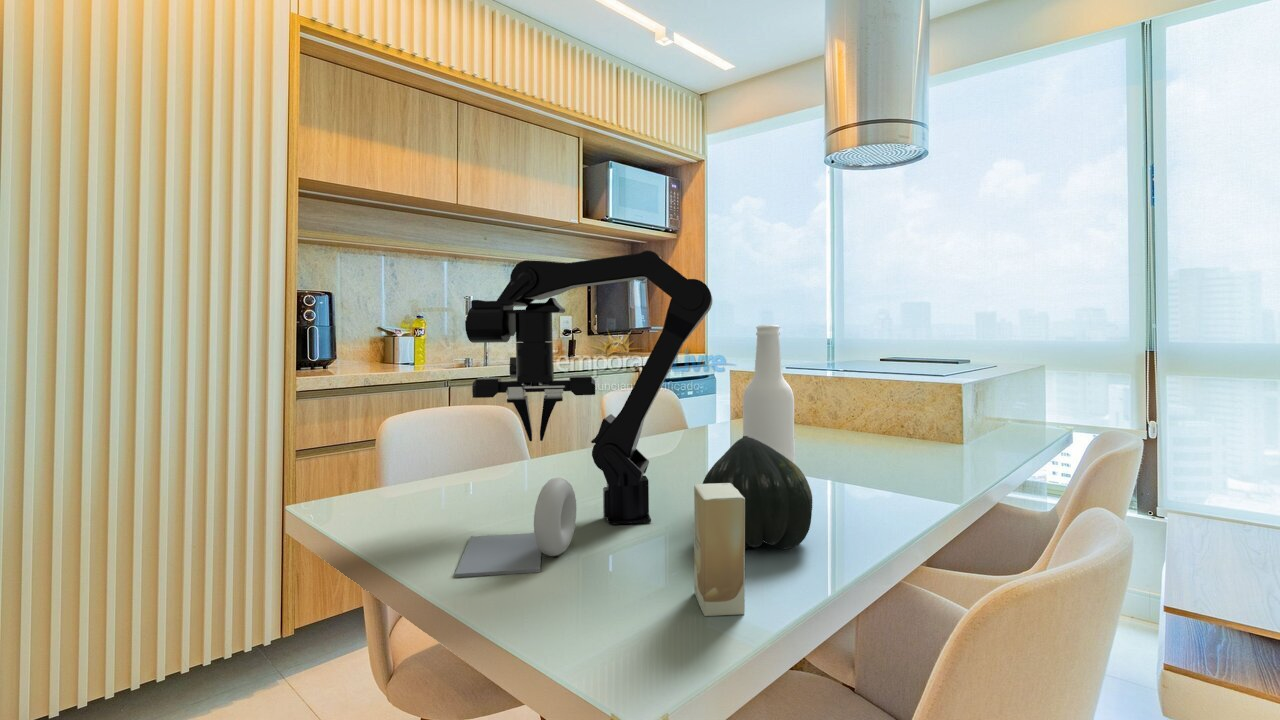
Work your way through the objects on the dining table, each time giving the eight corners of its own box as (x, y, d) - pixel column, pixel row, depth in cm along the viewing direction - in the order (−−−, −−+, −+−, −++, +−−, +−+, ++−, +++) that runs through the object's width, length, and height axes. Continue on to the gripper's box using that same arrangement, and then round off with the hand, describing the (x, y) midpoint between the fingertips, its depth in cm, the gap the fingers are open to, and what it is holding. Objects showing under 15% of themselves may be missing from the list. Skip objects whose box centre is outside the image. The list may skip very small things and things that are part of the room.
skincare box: (693, 592, 68) (692, 482, 68) (731, 590, 69) (731, 481, 68) (704, 618, 62) (703, 497, 61) (746, 616, 62) (745, 496, 62)
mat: (542, 535, 88) (542, 532, 88) (540, 572, 75) (539, 568, 75) (471, 539, 87) (470, 536, 87) (454, 577, 73) (454, 574, 73)
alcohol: (794, 490, 112) (793, 325, 111) (794, 503, 103) (794, 324, 102) (744, 488, 114) (743, 326, 113) (741, 501, 105) (740, 325, 104)
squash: (810, 529, 73) (808, 422, 82) (686, 524, 77) (697, 423, 86) (815, 574, 83) (813, 475, 92) (705, 568, 87) (714, 474, 97)
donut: (556, 569, 76) (555, 488, 75) (529, 567, 76) (528, 487, 76) (580, 542, 85) (579, 470, 85) (556, 540, 86) (555, 469, 86)
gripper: (590, 341, 106) (592, 431, 107) (479, 342, 104) (481, 434, 105) (594, 341, 95) (596, 442, 96) (470, 343, 93) (473, 446, 93)
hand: (536, 440), depth 98 cm, fingers closed
